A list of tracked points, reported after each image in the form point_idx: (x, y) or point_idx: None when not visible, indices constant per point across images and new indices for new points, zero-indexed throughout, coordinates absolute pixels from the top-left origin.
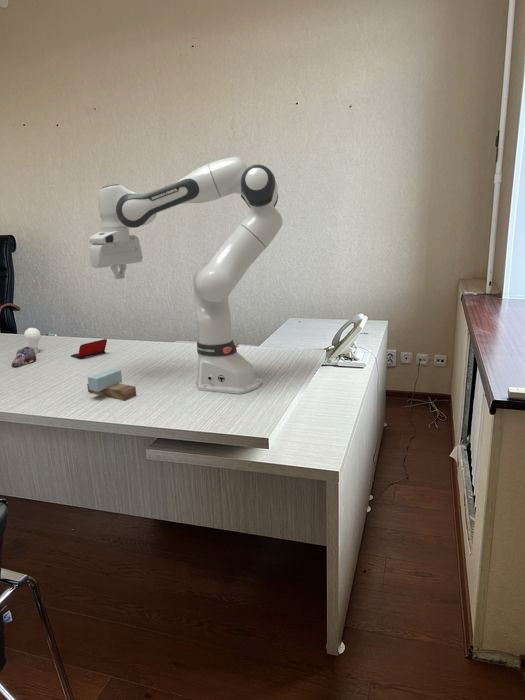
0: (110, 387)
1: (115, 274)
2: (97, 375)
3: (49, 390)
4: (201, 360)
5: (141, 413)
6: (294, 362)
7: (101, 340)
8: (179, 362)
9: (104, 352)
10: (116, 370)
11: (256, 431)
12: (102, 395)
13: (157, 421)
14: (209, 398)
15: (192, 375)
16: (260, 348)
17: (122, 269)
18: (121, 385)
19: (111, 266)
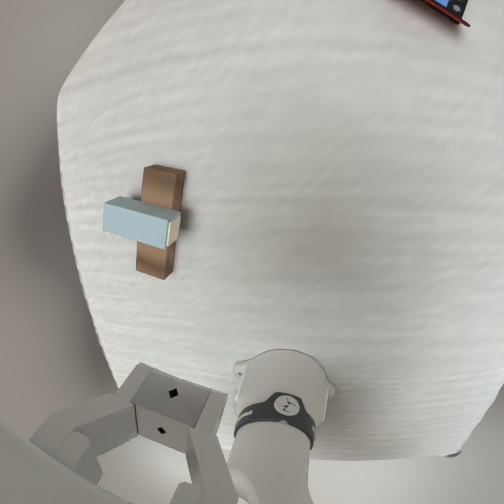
0: None
1: (120, 400)
2: (118, 217)
3: (146, 71)
4: (240, 402)
5: (118, 309)
6: (399, 442)
7: (451, 14)
8: (415, 269)
9: (457, 23)
10: (159, 240)
11: None
12: None
13: (110, 337)
14: (204, 381)
15: (316, 332)
16: (493, 382)
17: (194, 481)
18: (159, 249)
19: (38, 441)
